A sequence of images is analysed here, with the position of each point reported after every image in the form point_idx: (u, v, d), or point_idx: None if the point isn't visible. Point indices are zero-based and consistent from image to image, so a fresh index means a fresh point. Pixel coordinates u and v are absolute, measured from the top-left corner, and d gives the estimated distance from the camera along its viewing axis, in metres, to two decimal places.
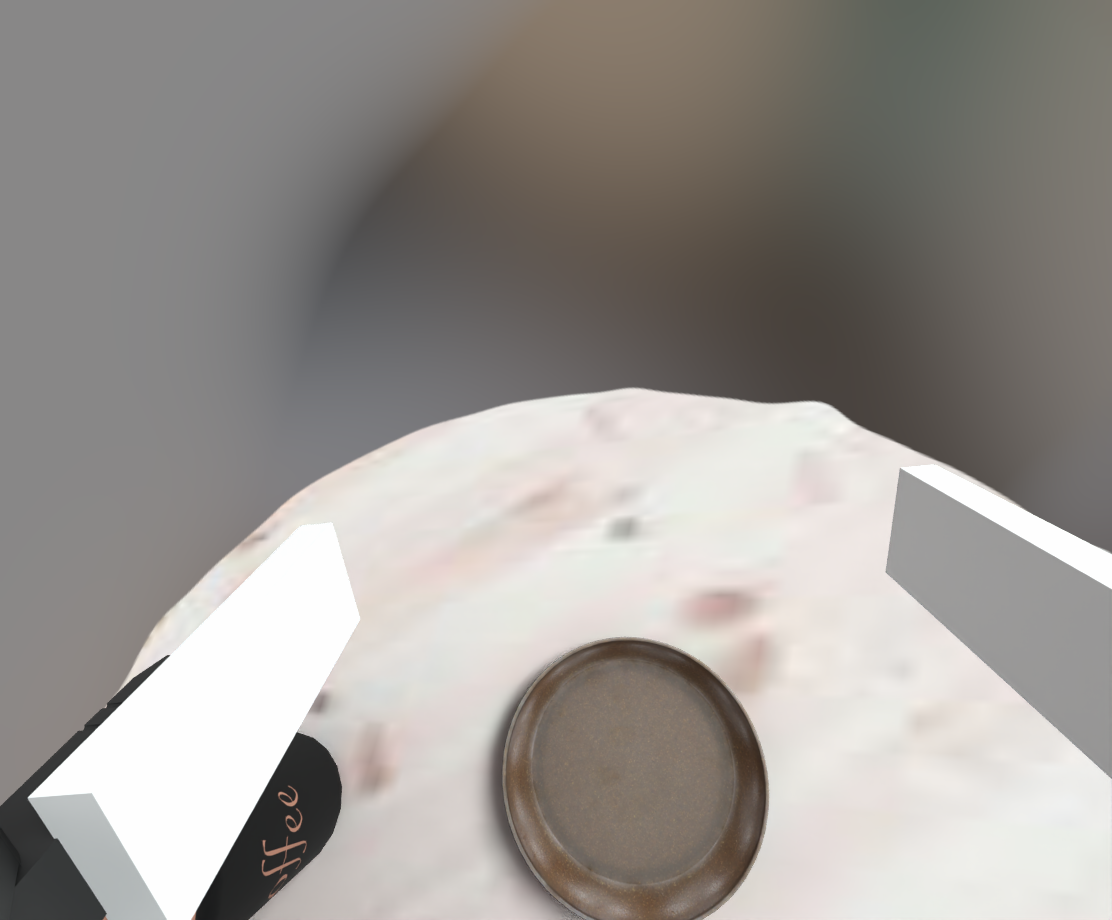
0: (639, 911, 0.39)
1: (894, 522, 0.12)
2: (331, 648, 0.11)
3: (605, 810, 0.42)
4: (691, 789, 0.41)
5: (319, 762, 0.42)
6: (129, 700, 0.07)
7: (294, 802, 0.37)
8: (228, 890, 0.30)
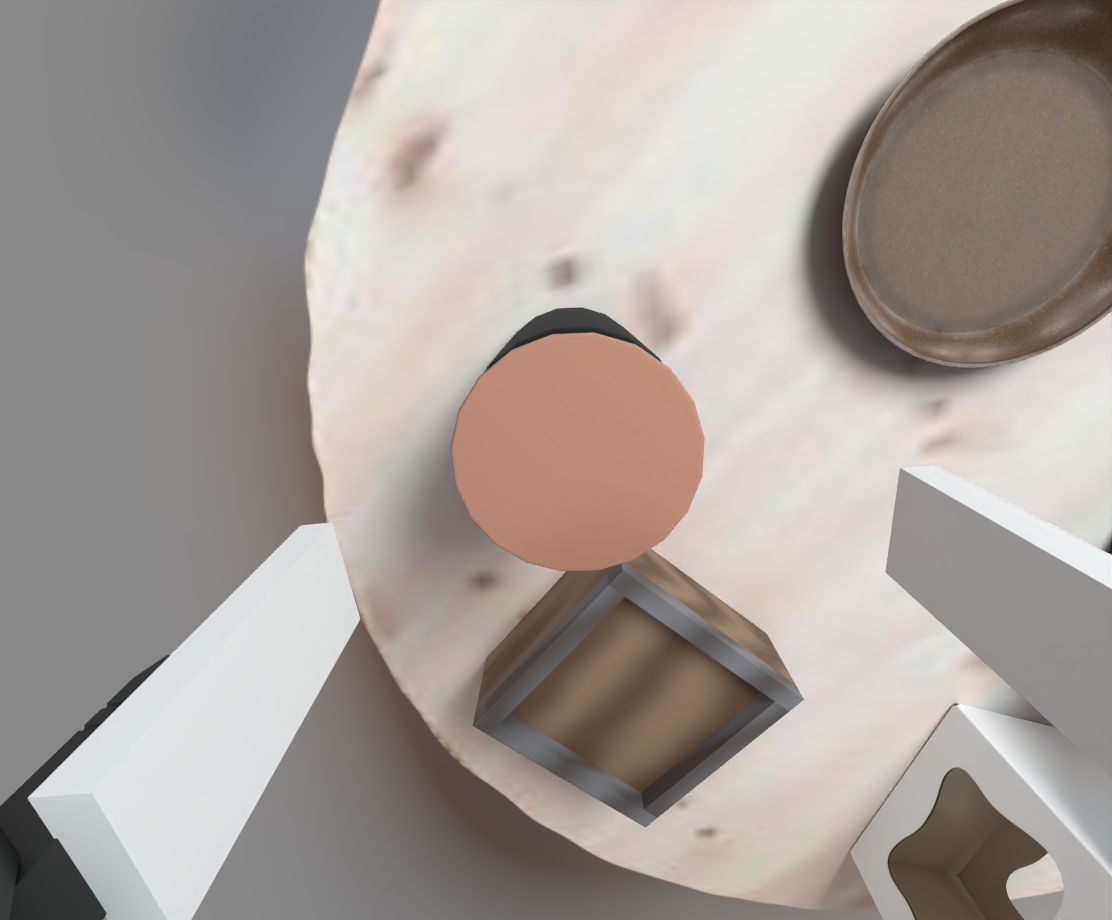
0: (1010, 345, 0.35)
1: (894, 522, 0.12)
2: (331, 648, 0.11)
3: (955, 265, 0.35)
4: (1067, 203, 0.33)
5: (613, 321, 0.34)
6: (129, 700, 0.07)
7: None
8: None
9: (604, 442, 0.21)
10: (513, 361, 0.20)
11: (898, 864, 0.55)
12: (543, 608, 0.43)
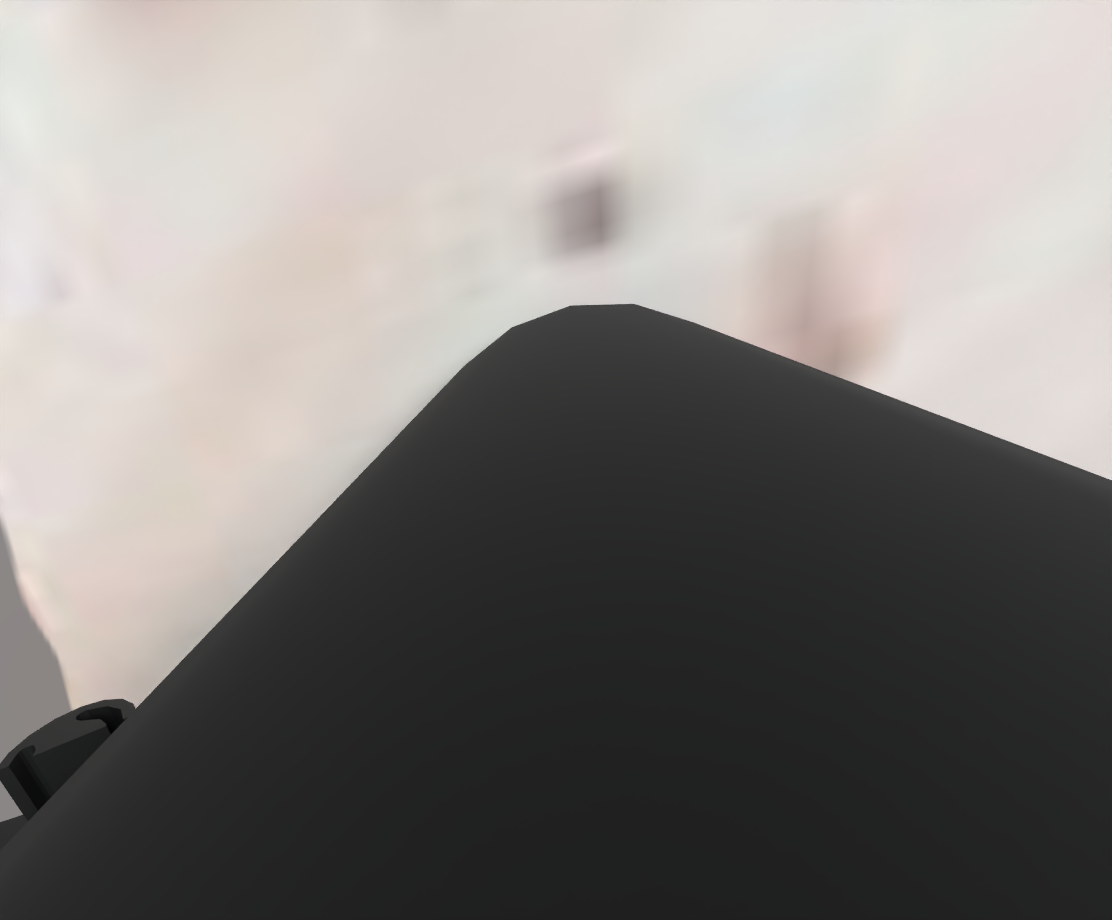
0: None
1: None
2: None
3: None
4: None
5: None
6: None
7: None
8: None
9: None
10: None
11: None
12: None
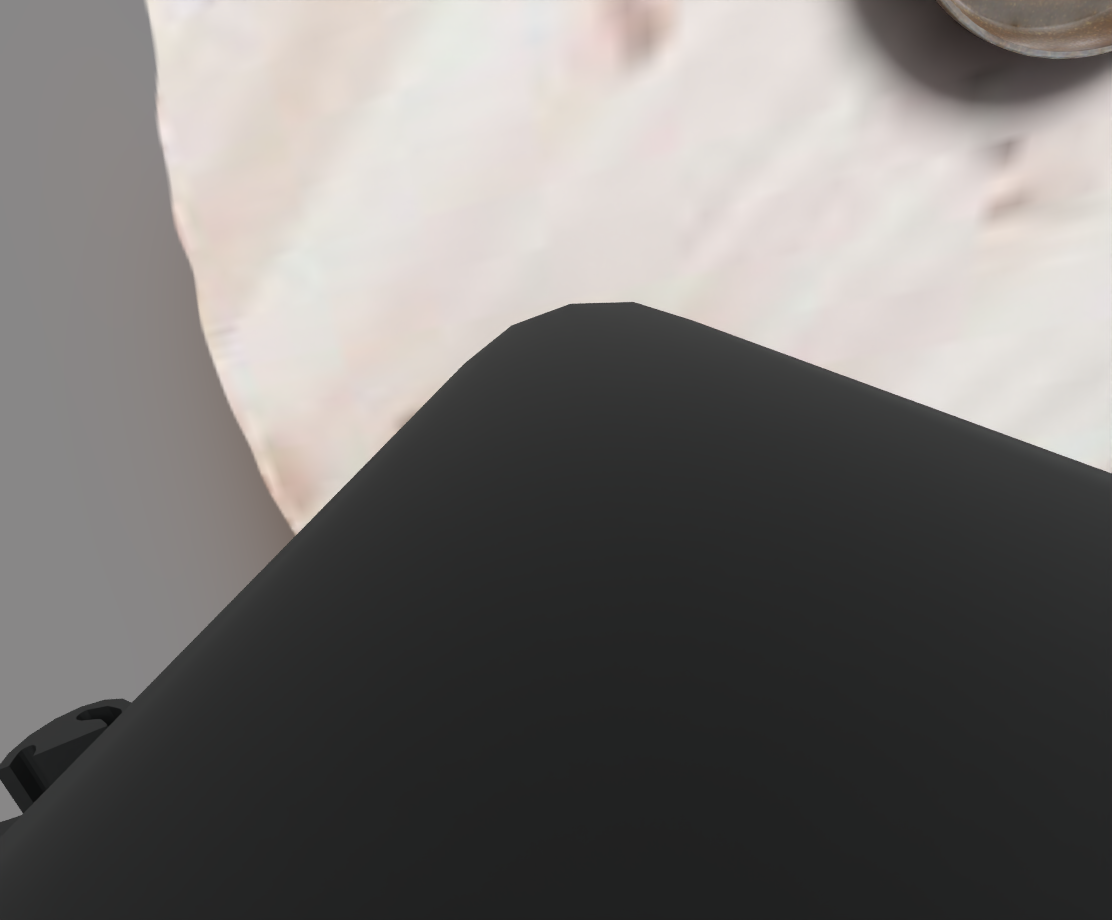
0: None
1: None
2: None
3: None
4: None
5: None
6: None
7: None
8: None
9: None
10: None
11: None
12: None
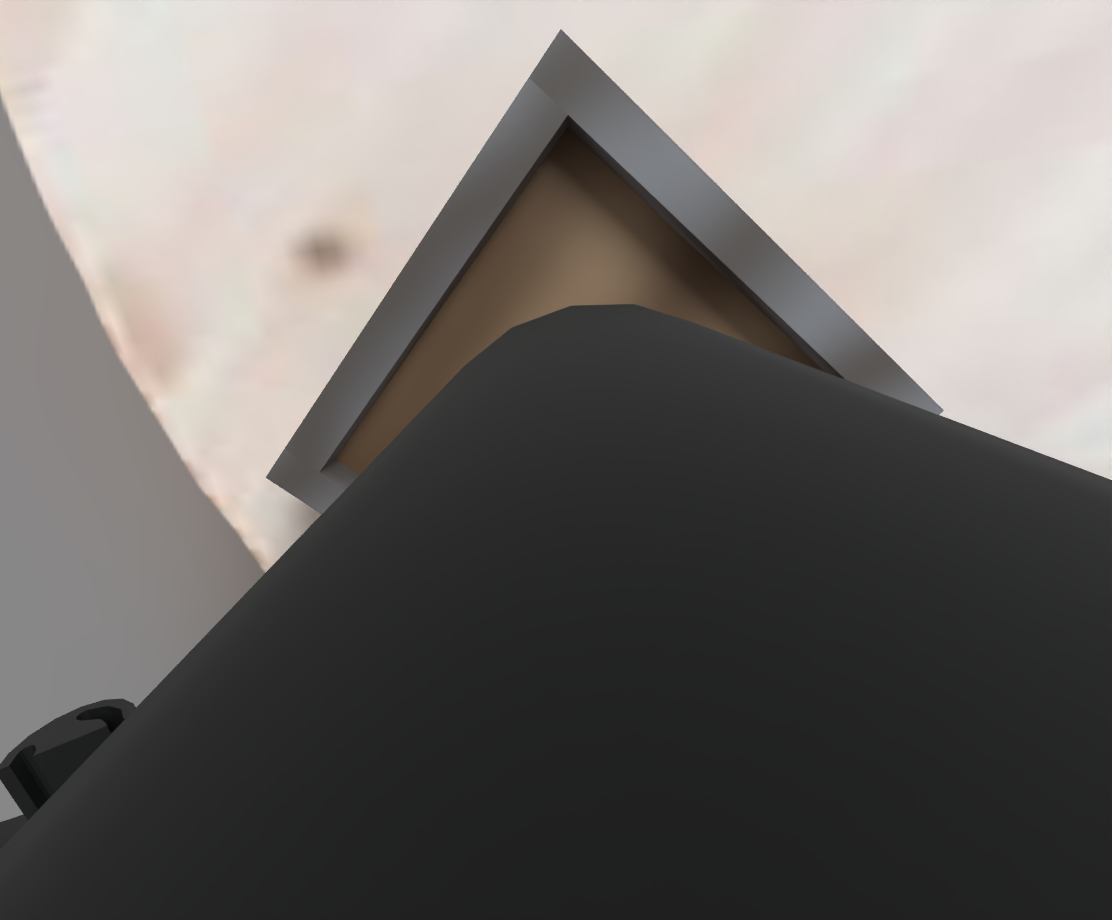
0: None
1: None
2: None
3: None
4: None
5: None
6: None
7: None
8: None
9: None
10: None
11: None
12: None
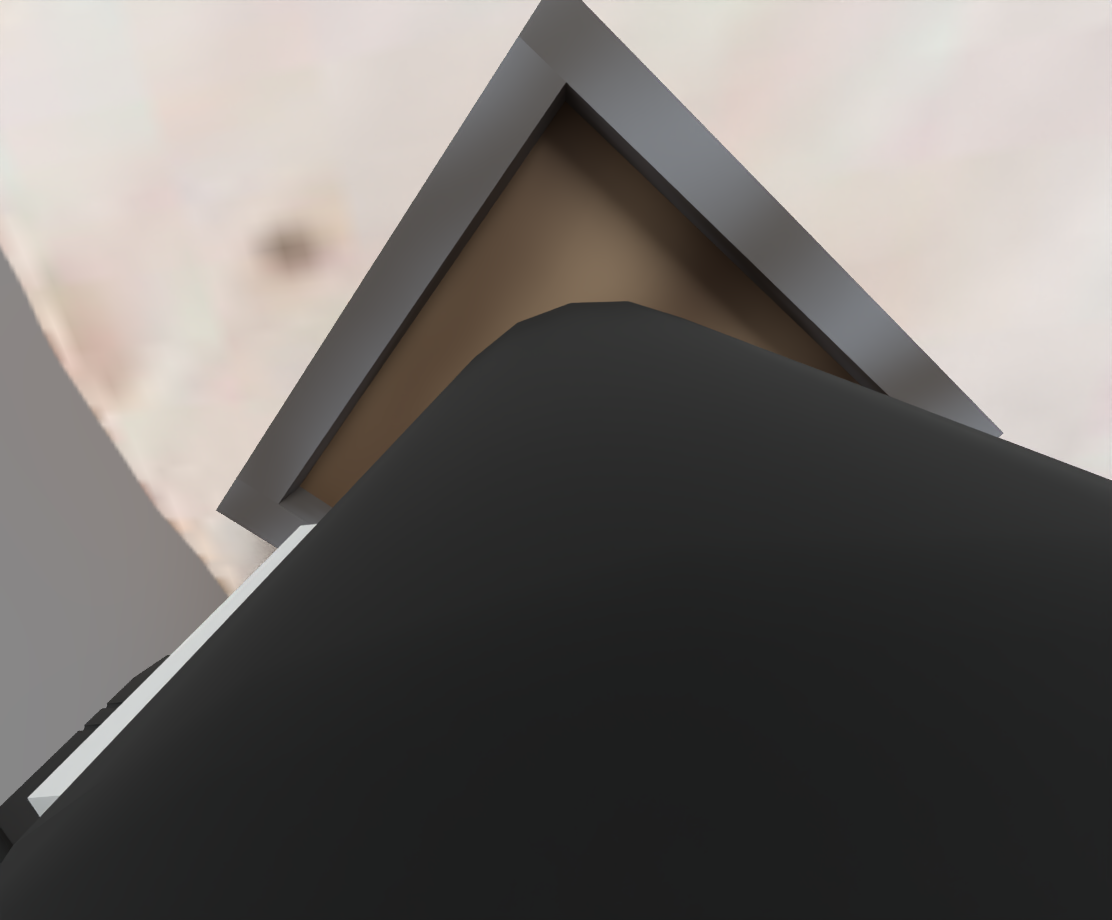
0: None
1: None
2: None
3: None
4: None
5: None
6: (129, 700, 0.07)
7: None
8: None
9: None
10: None
11: None
12: None
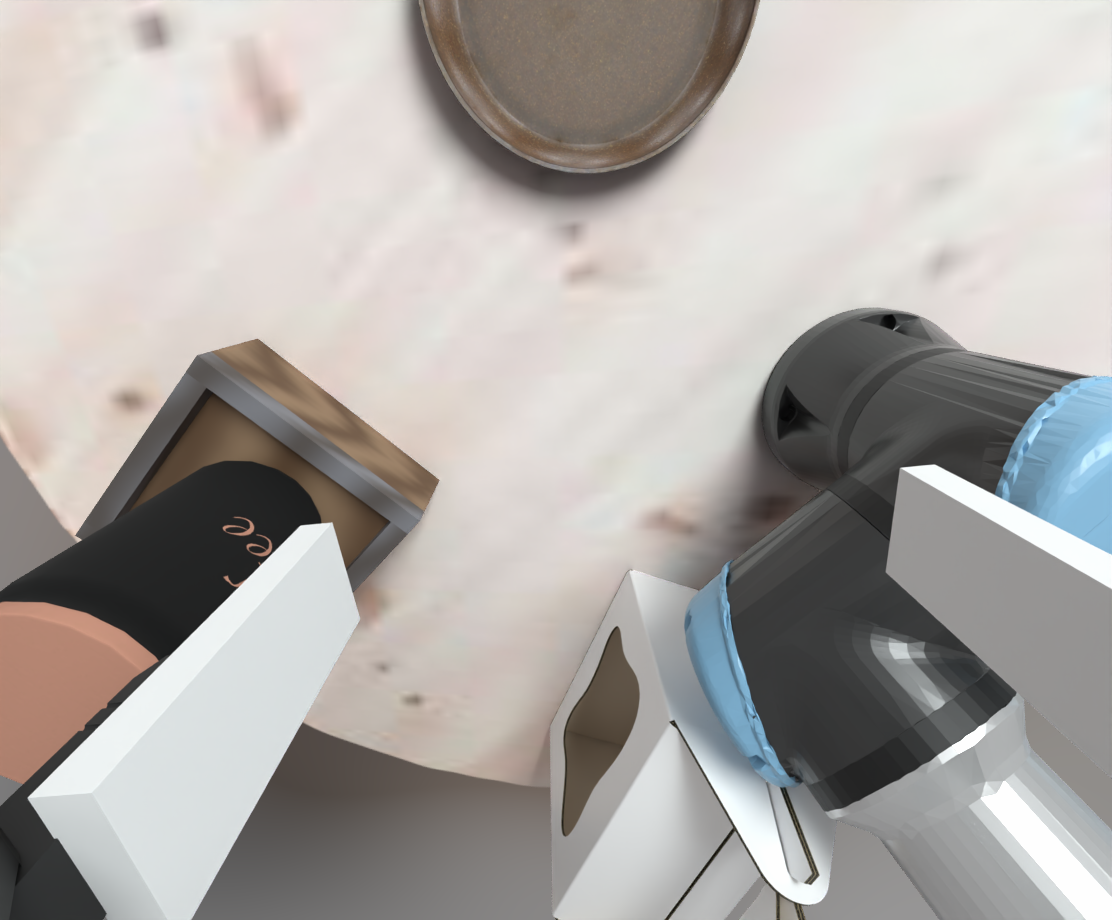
0: (620, 156, 0.35)
1: (894, 522, 0.12)
2: (331, 648, 0.11)
3: (565, 64, 0.34)
4: (666, 2, 0.33)
5: (268, 483, 0.35)
6: (129, 700, 0.07)
7: (251, 530, 0.31)
8: None
9: (66, 697, 0.22)
10: None
11: (597, 740, 0.56)
12: None
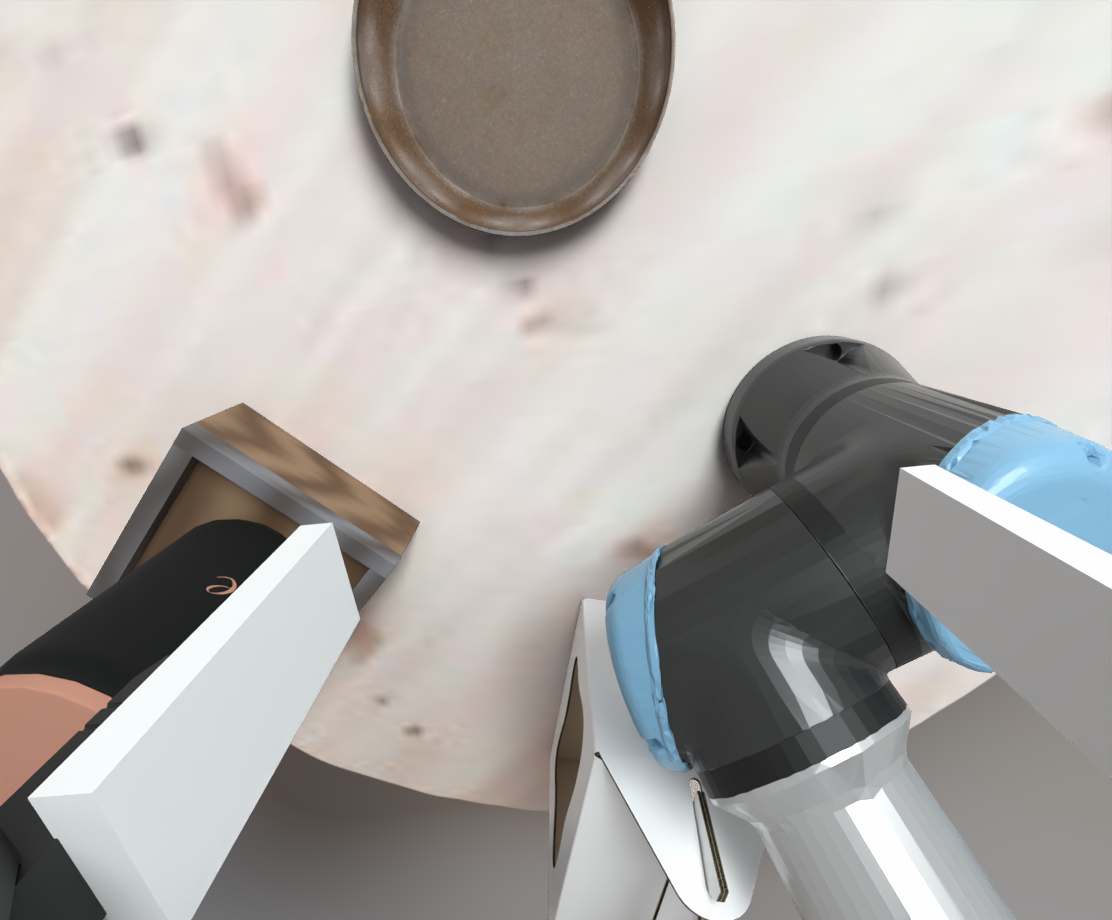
0: (559, 216, 0.37)
1: (894, 522, 0.12)
2: (331, 648, 0.11)
3: (502, 137, 0.36)
4: (590, 74, 0.35)
5: (252, 540, 0.38)
6: (129, 700, 0.07)
7: (233, 587, 0.34)
8: None
9: None
10: None
11: None
12: None
